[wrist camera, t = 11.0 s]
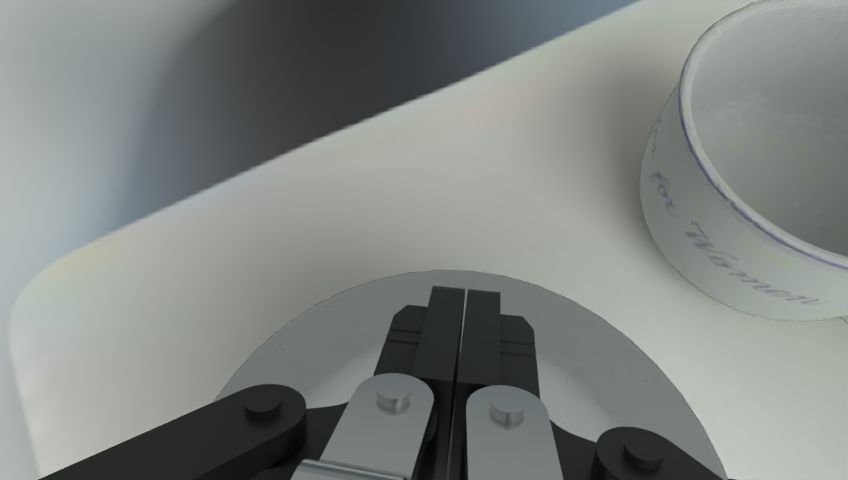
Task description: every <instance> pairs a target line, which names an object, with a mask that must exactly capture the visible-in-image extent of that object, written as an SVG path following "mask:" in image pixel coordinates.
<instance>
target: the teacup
mask: <svg viewBox="0 0 848 480" xmlns="http://www.w3.org/2000/svg"><path fill="white" fill-rule="evenodd" d="M640 199H641V205H642V210H643V214H644V217H645V220H646V223H647V225H648V228H649V230H650V232H651V235H652V236H653V238H654V240H655V242H656V244H657V246H658V247H659V249H660V250H661V252H662V253H663V254H664V256H665V257H666V259H667V260H668V261H669V262H670V263H671V265H672V266H673V267H674V268H675V269H676V270H677V271H678V272H679V273H680V274H681V275H682V276H683V277H684V278H685V279H686V280H688V281H689V282H690V283H691V284H693V285H694V286H695V287H697V288H698V289H699V290H700V291H702V292H703V293H705V294H706V295H708V296H710V297H711V298H713V299H715V300H717V301H719V302H721V303H722V304H724V305H726V306H728V307H730V308H733V309H736V310H739V311H742V312H745V313H748V314H751V315H754V316H758V317H763V318H767V319H773V320H780V321H792V322H803V321H817V320H824V319H830V318H835V317H840V318H842V319H843V320H844V321H845V322H847V323H848V0H762V1H758V2H753V3H750V4H749V5H748V6H746V7H743V8H741V9H739V10H736V11H734V12H732V13H730V14H729V15H727V16H725V17H724V18H722V19H721V20H719V21H718V22H716V23H715V24H714V25H712V26H711V27H710V28H709V29H708V30H707V31H706V32H705V33H704V34H703V35H702V36H701V37H700V38H699V40H698V42H697V43H696V44H695V45H694V47H693V48H692V50H691V52H690V54H689V55H688V57H687V60H686V62H685V64H684V66H683V69H682V72H681V76H680V80H679V81H678V83H677V85H676V87H675V89H674V90H673V92H672V94H671V96H670V98H669V99H668V101H667V103H666V105H665V107H664V109H663V111H662V113H661V115H660V117H659V119H658V121H657V123H656V125H655V127H654V129H653V132H652V134H651V136H650V139H649V141H648V144H647V147H646V149H645V152H644V156H643V160H642V165H641V172H640Z"/></svg>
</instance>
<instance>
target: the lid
mask: <svg viewBox="0 0 848 480" xmlns="http://www.w3.org/2000/svg"><path fill="white" fill-rule="evenodd" d="M433 286H443V287H453V288H463V289H465V300H464V312H463V324H462V335H463V326H464V318H465V310H466V302H467V293H468V289H475V290H485V291H495V292H500V293H501V300H500V314H505V315H515V316H523V317H524V318H525V320H526V321H527V322H528V323H529V324H530V326H531V327H532V328H533V329H534V337H535V348H536V359H537V369H538V380H539V391H540V400H541V401H542V402H543V403H544V405H545V406H546V408H547V411H548V414H549V418H550V420H551V421H553V422H554V423H555V424H556V425H557V426H559V427H561V428H562V429H564V430H566V431H568V432H570V433H572V434H574V435H577V436H579V437H582V438H585V439H588V440H591V441H594V442H597V440H598V438H599V436H600V435H601V434H602V433H603V432H605V431H607V430H609V429H612V428H616V427H637V428H642V429H645V430H649V431H652V432H654V433H657V434H659V435H661V436H663V437H665V438H666V439H668V440H669V441H671V442H672V443H674V444H675V445H676V446H678V447H679V448H681V449H682V450H683V451H685V452H686V453H687V454H689V455H690V456H692V457H693V458H694V459H696V460H697V461H698V462H700V463H701V464H703V465H704V466H705V467H707V468H708V469H709V470H711V471H712V472H714V473H715V474H716V475H718V476H719V477H720V478H722V479H723V480H728V478H727V476H726V473H725V470H724V467H723V465H722V463H721V461H720V459H719V457H718V455H717V453H716V451H715V449H714V447H713V445H712V443H711V441H710V439H709V437H708V435H707V433H706V431H705V429H704V427H703V426H702V424H701V423H700V421H699V420H698V418H697V417H696V415H695V414H694V412H693V411H692V409H691V408H690V406H689V405H688V403H687V402H686V400H685V399H684V397H683V395H682V394H681V393H680V392H679V390H678V389H677V388H676V387H675V386H674V385H673V383H672V382H671V381H670V380H669V379H668V377H667V376H666V375H665V374H664V373H663V371H662V370H661V369H660V368H659V367H658V365H657V364H656V363H655V362H654V361H653V360H651V359H650V358H649V357H648V356H647V355H646V354H645V353H644V352H643V351H642V350H641V349H640V348H639V347H638V346H637V345H636V344H635V343H634V342H633V341H631V340H630V339H629V338H628V337H627V336H625V335H624V334H623V333H621V332H620V331H619V330H617V329H616V328H615V327H613V326H612V325H611V324H609V323H608V322H607V321H605V320H604V319H603V318H601V317H600V316H598V315H596V314H595V313H593V312H591V311H589V310H588V309H586V308H584V307H582V306H581V305H579V304H577V303H575V302H574V301H572V300H570V299H568V298H566V297H563V296H561V295H559V294H556V293H554V292H552V291H549V290H547V289H545V288H542V287H540V286H537V285H534V284H531V283H527V282H524V281H520V280H517V279H513V278H510V277H506V276H501V275H494V274H488V273H482V272H476V271H456V270H434V271H423V272H412V273H405V274H400V275H396V276H391V277H386V278H382V279H377V280H374V281H371V282H368V283H365V284H362V285H360V286H357V287H354V288H351V289H348V290H345V291H343V292H341V293H339V294H337V295H335V296H333V297H331V298H329V299H327V300H325V301H323V302H321V303H319V304H317V305H315V306H313V307H312V308H310V309H309V310H307V311H306V312H304V313H303V314H301V315H300V316H298V317H297V318H295V319H293V320H292V321H290V322H289V323H287V324H286V325H285V326H284V327H282V328H281V329H280V330H279V331H278V332H276V333H275V334H274V335H273V336H272V337H271V338H269V339H268V340H267V341H266V342H265V343H263V344H262V345H261V346H260V347H259V348H258V349H257V350H256V351H255V352H254V353H253V354H252V355H251V356H250V357H249V359H248V360H247V361H246V362H245V363H244V364H243V365H242V366H241V367H240V368H239V369H238V370H237V371H236V372H235V374H234V375H233V376H232V378H231V379H230V380H229V382H228V383H227V384H226V386H225V387H224V388H223V390H222V391H221V393H220V394H219V395H218V397H217V398H216V399H215V401H218V400H220V399H222V398H224V397H227V396H229V395H231V394H233V393H236V392H238V391H240V390H243V389H245V388H248V387H252V386H255V385H261V384H279V385H284V386H288V387H291V388H293V389H295V390H296V391H298V392H299V393H300V394H301V395H302V396H303V397H304V399H305V402H306V409H309V408H319V407H328V406H335V405H339V404H343V403H346V402H349V401H350V399H351V397H352V395H353V393H354V391H355V389H356V388H357V386H358V385H359V384H360V383H362V382H363V381H365V380H366V379H368V378H370V377H373V374H374V371H375V368H376V365H377V363H378V360H379V357H380V354H381V351H382V348H383V345H384V342H385V340H386V337H387V334H388V331H389V328H390V325H391V322H392V319H393V316H394V315H395V314H396V313H397V312H399V311H400V310H401V309H402V308H404V307H405V306H406V305H415V306H425V307H428V303H429V299H430V295H431V291H432V287H433ZM461 343H462V336H461ZM460 351H461V348H460ZM459 360H460V359H459ZM455 398H456V395H455ZM215 401H214V402H215ZM454 410H455V404H454ZM453 422H454V412H453V420H452V429H451V437H450V445H449V454H448V462H447V470H446V479H445V480H449V471H450V459H451V446H452V434H453Z"/></svg>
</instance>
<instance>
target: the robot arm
mask: <svg viewBox="0 0 848 480" xmlns="http://www.w3.org/2000/svg"><path fill="white" fill-rule="evenodd" d="M464 300H465V289H463V288H453V287H443V286H433V287H432V291H431V295H430V299H429V303H428V307H425V306H415V305H406V306H405V307H404V308H402V309H401V310H400V311H399V312H397V313H396V314H395V315H394V316H393V319H392V322H391V325H390V328H389V331H388V334H387V337H386V340H385V342H384V345H383V348H382V351H381V354H380V357H379V360H378V363H377V365H376V368H375V371H374V374H373V377H370V378H368V379H366V380H365V381H363V382H362V383H360V384H359V385H358V386H357V388H356V389H355V391H354V393H353V395H352V397H351V399H350V401H349V402H346V403H343V404H339V405H335V406H328V407H319V408H309V409H306V402H305V399H304V397H303V396H302V395H301V394H300V393H299V392H298V391H296V390H295V389H293V388H291V387H288V386H284V385H279V384H261V385H255V386H252V387H248V388H245V389H243V390H240V391H238V392H236V393H233V394H231V395H229V396H227V397H224V398H222V399H220V400H218V401H215V402H213V403H211V404H209V405H206V406H204V407H202V408H199V409H197V410H195V411H193V412H190V413H188V414H186V415H184V416H181V417H179V418H177V419H175V420H172V421H170V422H168V423H166V424H163V425H161V426H159V427H156V428H154V429H152V430H150V431H147V432H145V433H143V434H141V435H138V436H136V437H134V438H132V439H129V440H127V441H125V442H123V443H120V444H118V445H116V446H113V447H111V448H109V449H107V450H104V451H102V452H100V453H98V454H95V455H93V456H91V457H89V458H86V459H84V460H82V461H80V462H77V463H75V464H73V465H70V466H68V467H66V468H64V469H61V470H59V471H57V472H55V473H52V474H50V475H48V476H46V477H43V478H41V479H39V480H445V479H446V470H447V462H448V454H449V445H450V437H451V429H452V420H453V412H454V422H453V434H452V446H451V459H450V471H449V480H723V479H722V478H720V477H719V476H718V475H716V474H715V473H714V472H712V471H711V470H709V469H708V468H707V467H705V466H704V465H703V464H701V463H700V462H698V461H697V460H696V459H694V458H693V457H692V456H690V455H689V454H687V453H686V452H685V451H683V450H682V449H681V448H679V447H678V446H676V445H675V444H674V443H672V442H671V441H669V440H668V439H666V438H665V437H663V436H661V435H659V434H657V433H654V432H652V431H649V430H645V429H642V428H637V427H616V428H612V429H609V430H607V431H605V432H603V433H602V434H601V435H600V436H599V438H598V440H597V442H594V441H591V440H588V439H585V438H582V437H579V436H577V435H574V434H572V433H570V432H568V431H566V430H564V429H562V428H561V427H559V426H557V425H556V424H555V423H554V422H553V421H551V420H550V418H549V414H548V411H547V408H546V406H545V405H544V403H543V402H542V401H541V400H540V391H539V380H538V369H537V359H536V348H535V337H534V329H533V328H532V327H531V326H530V324H529V323H528V322H527V321H526V320H525V318H524V317H523V316H515V315H505V314H500V300H501V293H500V292H495V291H485V290H475V289H468V293H467V302H466V310H465V318H464V326H463V335H462V324H463V312H464ZM461 336H462V343H461ZM460 348H461V351H460ZM459 359H460V360H459ZM455 395H456V398H455ZM454 404H455V410H454Z"/></svg>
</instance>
